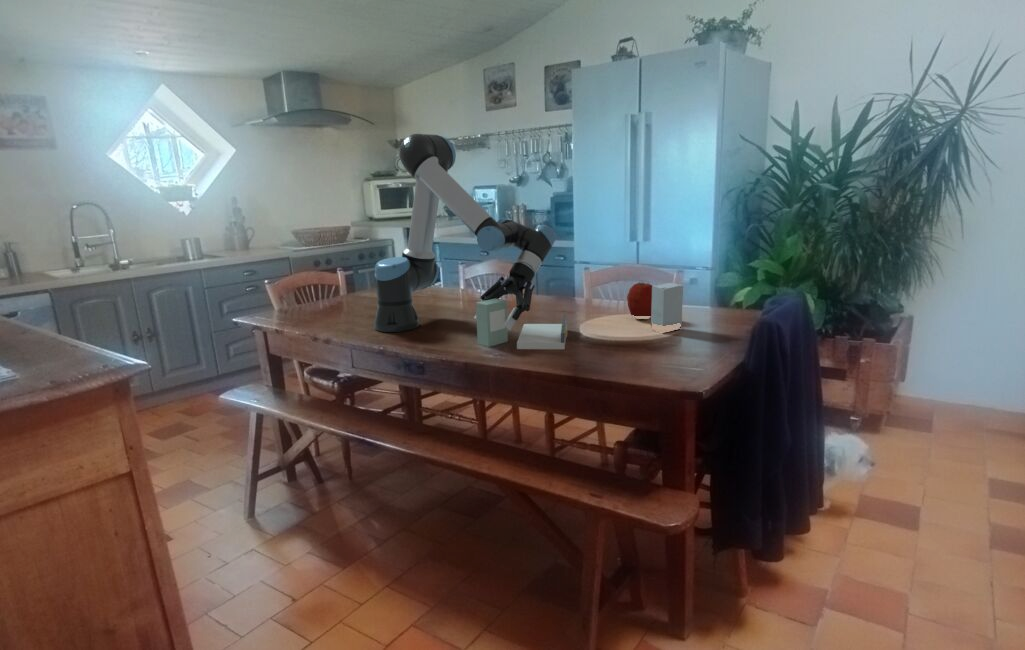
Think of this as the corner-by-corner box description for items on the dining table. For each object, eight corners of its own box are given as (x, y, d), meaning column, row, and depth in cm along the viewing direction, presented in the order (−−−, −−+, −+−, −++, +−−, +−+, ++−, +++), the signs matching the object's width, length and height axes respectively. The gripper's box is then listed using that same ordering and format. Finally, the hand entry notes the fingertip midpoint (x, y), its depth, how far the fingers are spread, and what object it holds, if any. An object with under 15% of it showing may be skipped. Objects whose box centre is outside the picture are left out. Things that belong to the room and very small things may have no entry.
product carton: (477, 343, 182) (475, 302, 178) (497, 338, 187) (495, 298, 184) (488, 347, 178) (486, 305, 175) (508, 341, 183) (506, 300, 180)
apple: (626, 322, 201) (626, 282, 198) (627, 315, 210) (628, 277, 207) (657, 323, 199) (658, 282, 195) (657, 316, 208) (658, 277, 204)
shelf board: (516, 349, 175) (516, 332, 174) (524, 329, 196) (523, 315, 195) (566, 349, 173) (566, 332, 172) (568, 329, 194) (568, 315, 193)
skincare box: (669, 326, 194) (670, 281, 191) (682, 330, 189) (684, 284, 186) (649, 330, 191) (650, 285, 187) (662, 334, 185) (664, 287, 182)
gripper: (560, 279, 180) (526, 337, 174) (504, 271, 198) (472, 324, 191) (548, 264, 175) (513, 323, 169) (492, 258, 193) (458, 311, 187)
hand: (491, 324), depth 180 cm, fingers open, 13 cm apart
